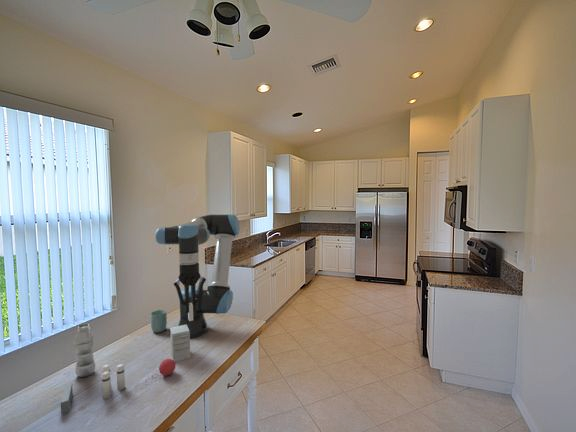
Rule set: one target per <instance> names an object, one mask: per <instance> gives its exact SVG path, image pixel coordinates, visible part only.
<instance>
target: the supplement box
mask: <svg viewBox="0 0 576 432" xmlns="http://www.w3.org/2000/svg"><path fill="white" fill-rule="evenodd" d="M170 355H171V359H172V360H173V361H174V362H175V363H176V362H180V361H185V360H189V359H190V358H191V338H190V331H189V328H188V326H187V325H181V326H178V325H177V326H172V327H170Z"/></svg>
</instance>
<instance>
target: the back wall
mask: <svg viewBox="0 0 576 432" xmlns="http://www.w3.org/2000/svg"><path fill="white" fill-rule="evenodd" d="M73 395H74V392H73V384H72V383H70V384H67V385H64V389H63V393H62V396H61V400H60V414H61V415H64V414H67V413H70V408H71V404H72V400H73Z"/></svg>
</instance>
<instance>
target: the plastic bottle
mask: <svg viewBox="0 0 576 432" xmlns="http://www.w3.org/2000/svg"><path fill="white" fill-rule="evenodd" d="M94 338H95V336H94V333H92V332H91V331H90V324H89V323H82V324H79V325H78V326H77V334H76V335H75V337H74V340H73V344H74V348H75V354H76V361H75V362H76V363H75V364H76V365H75V374H76V376H77V377H78V378H84V377H89V376H90V375H92V374H93V373H94V372H95V370H96V367H97V366H96V363H95V362H96V361H95V359H94V353H93V352H94Z"/></svg>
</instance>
